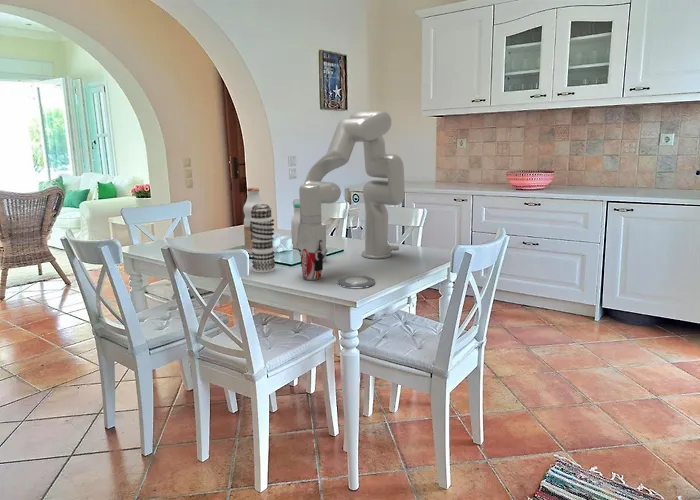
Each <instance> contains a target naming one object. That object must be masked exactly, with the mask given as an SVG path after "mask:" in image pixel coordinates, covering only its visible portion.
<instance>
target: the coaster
mask: <svg viewBox="0 0 700 500" xmlns="http://www.w3.org/2000/svg"><path fill="white" fill-rule="evenodd" d="M374 283H375V284H376V280H375V278H374V277H371V276H366V275H347V276H346V275H345V276H343V277H340V278H339V279H338V280H337V284H339V285H338V286H340V285H341V286H345V287H366V286H371V285H373V284H374ZM341 286H340V287H341ZM373 286H374V285H373ZM345 287H344V288H345ZM371 287H372V286H371Z"/></svg>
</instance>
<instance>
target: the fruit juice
mask: <svg viewBox="0 0 700 500" xmlns="http://www.w3.org/2000/svg"><path fill="white" fill-rule="evenodd" d="M259 192H260V188H259V187H248V188H247V193H248V194H247V197H246V201H245V203H244V204H243V214H244V218H243V231H244V248H245V250H246V251H247V252H248V253H249V254H248V255H252V252H253V251H252V248H253V241H251V236H250V235H251V233H252V232H251V231H250V228H251V227H249V226H250V224H251V223H250V221H251V210H250V209H251V208H252V207H253V205H256V204H264V203H263V201H262V199H261V196H260V194H259ZM245 250H244V251H245ZM246 251H245V252H246Z"/></svg>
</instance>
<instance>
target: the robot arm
mask: <svg viewBox="0 0 700 500" xmlns="http://www.w3.org/2000/svg"><path fill="white" fill-rule="evenodd" d="M391 126H392V118H391V115H390V114H389V113H388V112H387V111H385V110H371V111H370V110H361V111H354V112H353V113H351V114H350V116H349V118H347V117H346V118H344V119H341V120H340V121H338V123H337V125H336V128H335V129H334V130H335V131H334V133H333V136H332V138H331V141H330V143H329V147H328V149H327V151H326V153H325V154H324V155H323V156H321V158H319V159H318V160H317V161H316V162H315V163H314V164H313V165H312V166H311V167H310V169H309V171H308V173H307V175H306V177H305V180H304V183H303V184H302V185H301V184H300V186H299V189H298V190H299V191H298V193H299V195H298V196H299V203H300V223H299V227H298V240H297V243H296V245H297V247H298V249H297V250H298V252H299V256H300V259H301V260H300V267H301V268H302V250H303V249H306V250H307V251H308V252H310V253H314V255H315V258H316V260H315V271H320V270H322V271H323V269H324V262H323V259H324V257H325V254H326V255H327V253H328V249H327V246H326V247H325V246H324V234H323V227H322V224H323V223H322V204H328V205H329V204H333V203H336V202H338V201H339V199H341V193H342V191H341V188H340V186H339V185H338V184H336V183H334V182H330V181H329V182H328V181H323V179H324V178H325V176H327V174H329V173H330V172H332V171H335V170H336V169H339V168H341V167H343V166H345V165H347V163H349V160H350V158H351V155H352V153H353V150H354V147H355V145H356V143H358V142H359V143H362V145H363V154H364V170H365V173H366V175H367V176H369V177H371V178H380V180H378V179H371V180H369V181H366V183H365V184H364V186H363V188H362V196H363V197H362V198H363V201H364V210H365V211H364V212H365V213H364V214H365V215H364V216H365V219H364V220H365V223H364V227H365V228H364V229H365V232H364V233H365V235H364V237H365V239H364V241H365V242H364V243H365V245H364V247H365V249H364V250H363V251H362V252H361V256H362V257H364V258H368V259H376V260H377V259H388V258H390V257H391V256H392V251H400V250H399V249H400V246H399V245H390V244H389V213H388V210H387V208H386V205H388V206H399V205H400V204H402V203H403V202H404V198H405V193H406V192H405V189H406V188H405V168H404V167H405V166H404V162H403V160H402V158H401V157H400V156H399V155H397V154H393V153H387V152H386V144H385V139H384V137H383V135H385V134H387V133H388V132H389V131H390V129H391ZM381 179H387V180H381ZM321 223H322V224H321ZM304 247H306V248H304ZM318 249H319V251H318ZM317 253H319V254H320V255H319V256H318V254H317Z"/></svg>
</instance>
